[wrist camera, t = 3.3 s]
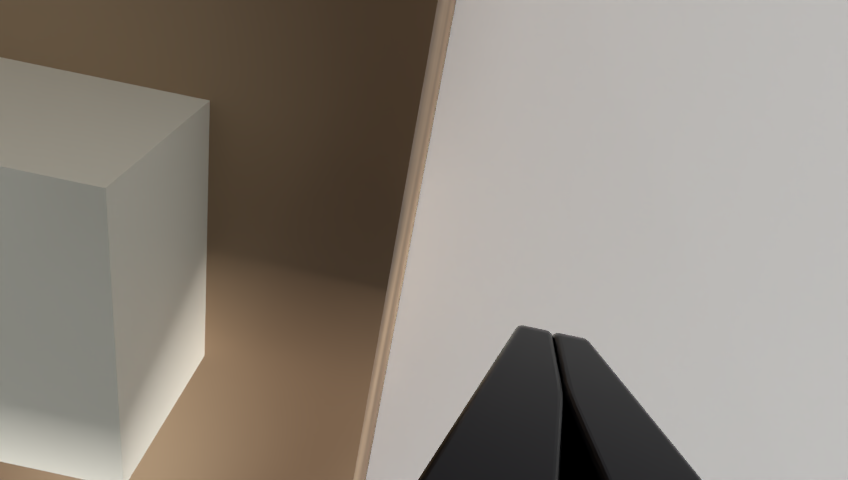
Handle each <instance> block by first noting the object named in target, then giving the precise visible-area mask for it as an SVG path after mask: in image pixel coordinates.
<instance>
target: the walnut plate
mask: <svg viewBox="0 0 848 480" xmlns="http://www.w3.org/2000/svg"><path fill="white" fill-rule="evenodd" d="M455 3H456V0H0V57H2V58H7V59H12V60H16V61H21V62H26V63H31V64H36V65H41V66H45V67H50V68H55V69H60V70H65V71H70V72H74V73H79V74H84V75H89V76H94V77H99V78H103V79H108V80H113V81H118V82H123V83H128V84H132V85H137V86H142V87H147V88H152V89H157V90H161V91H166V92H171V93H176V94H181V95H186V96H190V97H195V98H200V99H205V100H210V117H209V165H208V213H207V261H206V309H205V356H204V357H203V359H202V361H201V362H200V364H199V365H198V367H197V369H196V370H195V372H194V374H193V375H192V377H191V379H190V380H189V382H188V384H187V385H186V387H185V388H184V390H183V392H182V393H181V395H180V397H179V398H178V400H177V402H176V403H175V405H174V406H173V408H172V410H171V411H170V413H169V415H168V416H167V418H166V420H165V421H164V423H163V425H162V426H161V428H160V429H159V431H158V433H157V434H156V436H155V438H154V439H153V441H152V443H151V444H150V446H149V447H148V449H147V451H146V452H145V454H144V456H143V457H142V459H141V461H140V462H139V464H138V465H137V467H136V469H135V470H134V472H133V474H132V475H131V477H130V479H129V480H366V474H367V469H368V464H369V458H370V453H371V448H372V443H373V437H374V432H375V427H376V421H377V416H378V411H379V406H380V400H381V395H382V390H383V384H384V379H385V374H386V368H387V363H388V358H389V353H390V347H391V342H392V337H393V331H394V326H395V321H396V316H397V310H398V305H399V300H400V294H401V289H402V284H403V279H404V273H405V268H406V263H407V257H408V252H409V247H410V241H411V236H412V231H413V226H414V220H415V215H416V210H417V204H418V199H419V194H420V189H421V183H422V178H423V173H424V167H425V162H426V157H427V152H428V146H429V141H430V136H431V130H432V125H433V120H434V115H435V109H436V104H437V99H438V93H439V88H440V83H441V77H442V72H443V67H444V62H445V56H446V51H447V46H448V40H449V35H450V30H451V25H452V19H453V14H454V9H455ZM0 480H83V479H79V478H74V477H70V476H65V475H60V474H56V473H51V472H46V471H42V470H37V469H33V468H28V467H23V466H19V465H14V464H9V463H5V462H0Z"/></svg>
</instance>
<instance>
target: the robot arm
mask: <svg viewBox="0 0 848 480" xmlns="http://www.w3.org/2000/svg"><path fill="white" fill-rule="evenodd" d="M418 480H701V478H700V477H699V476H698V475H697V473H696V472H695V471H694V470H693V469H692V467H691V466H690V465H689V464H688V462H687V461H686V460H685V459H684V457H683V456H682V455H681V454H680V453H679V451H678V450H677V449H676V448H675V446H674V445H673V444H672V443H671V442H670V440H669V439H668V438H667V437H666V435H665V434H664V433H663V432H662V431H661V429H660V428H659V427H658V426H657V424H656V423H655V422H654V421H653V419H652V418H651V417H650V416H649V415H648V413H647V412H646V411H645V410H644V408H643V407H642V406H641V405H640V404H639V402H638V401H637V400H636V399H635V397H634V396H633V395H632V394H631V393H630V391H629V390H628V389H627V388H626V386H625V385H624V384H623V383H622V381H621V380H620V379H619V378H618V377H617V375H616V374H615V373H614V372H613V370H612V369H611V368H610V367H609V366H608V364H607V363H606V362H605V361H604V359H603V358H602V357H601V356H600V355H599V353H598V352H597V351H596V350H595V348H594V347H593V346H592V345H591V343H590V342H589V341H587V340H586V339H584V338H580V337H575V336H570V335H565V334H560V333H556V334H554V335H553V336H552V334H551V333H550V332H549V331H546V330H542V329H537V328H532V327H528V326H522V325H521V326H518V327H517V328H516V329H515V331H514V332H513V334H512V336H511V337H510V339H509V340H508V342H507V343H506V345H505V346H504V348H503V349H502V351H501V353H500V354H499V356H498V357H497V359H496V360H495V362H494V363H493V365H492V366H491V368H490V370H489V371H488V373H487V374H486V376H485V377H484V379H483V380H482V382H481V383H480V385H479V387H478V388H477V390H476V391H475V393H474V394H473V396H472V397H471V399H470V400H469V402H468V404H467V405H466V407H465V408H464V410H463V411H462V413H461V414H460V416H459V417H458V419H457V421H456V422H455V424H454V425H453V427H452V428H451V430H450V431H449V433H448V435H447V436H446V438H445V439H444V441H443V442H442V444H441V445H440V447H439V448H438V450H437V452H436V453H435V455H434V456H433V458H432V459H431V461H430V462H429V464H428V465H427V467H426V469H425V470H424V472H423V473H422V475H421V476H420V478H419V479H418Z"/></svg>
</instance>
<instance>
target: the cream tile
mask: <svg viewBox="0 0 848 480" xmlns="http://www.w3.org/2000/svg"><path fill="white" fill-rule="evenodd" d="M209 117H210V100H205V99H200V98H195V97H190V96H186V95H181V94H176V93H171V92H166V91H161V90H157V89H152V88H147V87H142V86H137V85H132V84H128V83H123V82H118V81H113V80H108V79H103V78H99V77H94V76H89V75H84V74H79V73H74V72H70V71H65V70H60V69H55V68H50V67H45V66H41V65H36V64H31V63H26V62H21V61H16V60H12V59H7V58H2V57H0V462H5V463H9V464H14V465H19V466H23V467H28V468H33V469H37V470H42V471H46V472H51V473H56V474H60V475H65V476H70V477H74V478H79V479H83V480H129V479H130V477H131V475H132V474H133V472H134V470H135V469H136V467H137V465H138V464H139V462H140V461H141V459H142V457H143V456H144V454H145V452H146V451H147V449H148V447H149V446H150V444H151V443H152V441H153V439H154V438H155V436H156V434H157V433H158V431H159V429H160V428H161V426H162V425H163V423H164V421H165V420H166V418H167V416H168V415H169V413H170V411H171V410H172V408H173V406H174V405H175V403H176V402H177V400H178V398H179V397H180V395H181V393H182V392H183V390H184V388H185V387H186V385H187V384H188V382H189V380H190V379H191V377H192V375H193V374H194V372H195V370H196V369H197V367H198V365H199V364H200V362H201V361H202V359H203V357H204V356H205V309H206V261H207V213H208V165H209Z"/></svg>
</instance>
